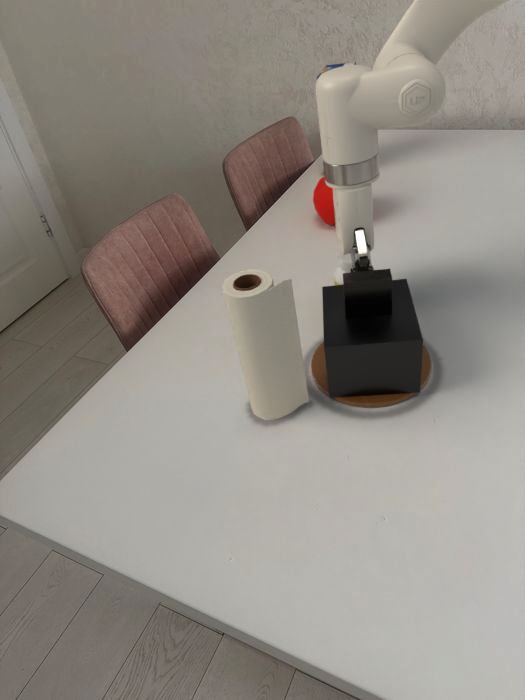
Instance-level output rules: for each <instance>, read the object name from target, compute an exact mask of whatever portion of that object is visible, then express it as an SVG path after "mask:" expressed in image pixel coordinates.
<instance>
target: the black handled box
mask: <svg viewBox="0 0 525 700" xmlns="http://www.w3.org/2000/svg"><path fill="white" fill-rule="evenodd" d="M321 291H322V327H323V328H322V329H323V340H322V342H321V343H320V344H319V345H318V347H316V349H315V351H314V353H313V355H312V357H311V363H310V369H311V376H312V378H313V380H314V382H315V384H316V386H317V387H318V388H319V390H321V392H323V393H324V394H325V395H326V396H328V398H330V399H333V400H335V401H336V402H339V403H340V404H341V403H342V404H343V405H347V406H352V407H357V408H367V409H368V408H369V409H370V408H372V409H373V408H374V409H375V408H385V407H389V406H394V405H397V404H400V403H402V402H405V401H407V400H409V399H411V398H413V397H414V396H415V395H417V394H420V393H421V391H422V390H423V388H424V387H425V386H426V384H427V383H428V381H429V379H430V377H431V373H432V359H431V355H430V353H429V351H428V349H427V348H426V346H425V345H424V338H423V335H422V331H421V327H420V323H419V320H418V315H417V312H416V308H415V305H414V304H415V303H414V300H413V297H412V294H411V290H410V286H409V282H408V279H407V278H400V279H393V276H392V271H391V268H382V269H374V270H371V271H361V272H351V273H343V284H340V285H335V284H334V285H325V286H322V287H321Z"/></svg>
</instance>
